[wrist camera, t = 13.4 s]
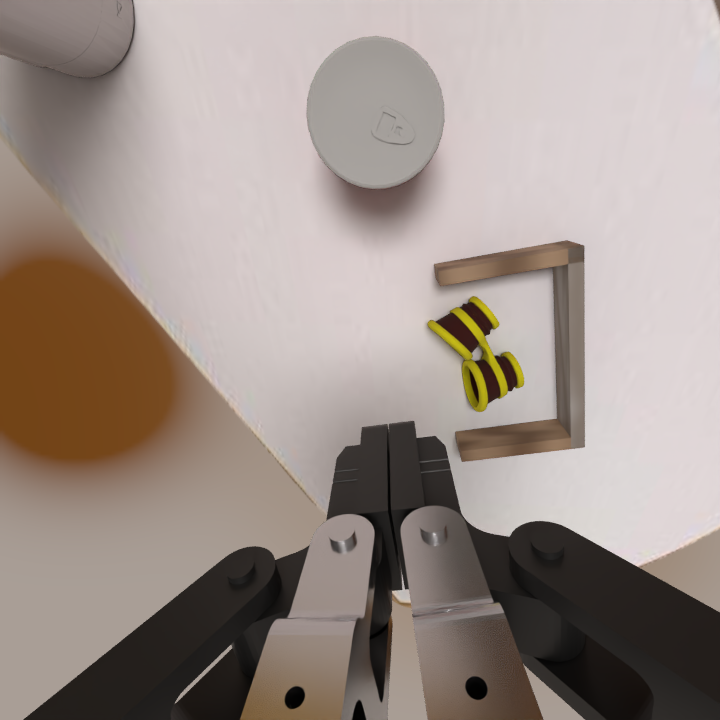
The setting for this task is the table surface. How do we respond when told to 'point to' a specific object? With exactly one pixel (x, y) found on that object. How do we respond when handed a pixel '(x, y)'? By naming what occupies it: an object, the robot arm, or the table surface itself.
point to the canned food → (375, 112)
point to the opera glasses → (490, 372)
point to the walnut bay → (567, 348)
